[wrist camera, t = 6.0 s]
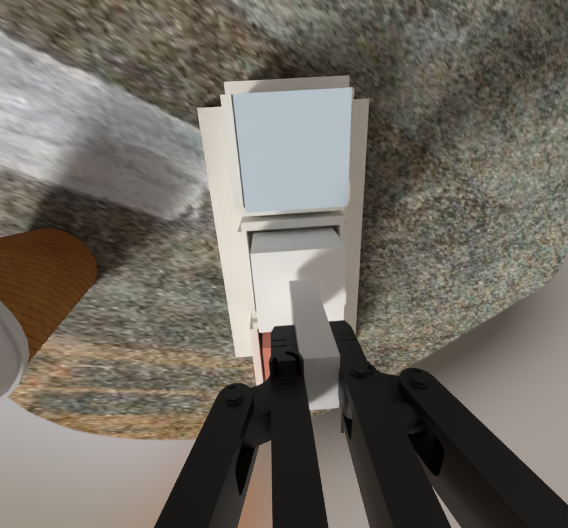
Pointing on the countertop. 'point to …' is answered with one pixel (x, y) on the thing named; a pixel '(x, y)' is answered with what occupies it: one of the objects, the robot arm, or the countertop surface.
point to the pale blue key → (294, 148)
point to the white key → (296, 272)
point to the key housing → (240, 225)
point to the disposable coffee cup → (37, 294)
